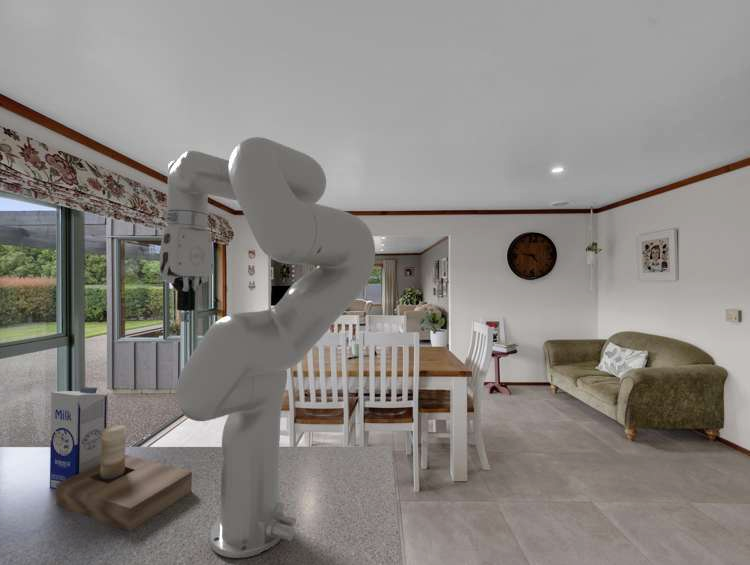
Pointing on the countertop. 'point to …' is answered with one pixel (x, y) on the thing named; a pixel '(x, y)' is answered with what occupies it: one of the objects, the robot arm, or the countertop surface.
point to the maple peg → (112, 453)
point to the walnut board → (125, 492)
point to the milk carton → (76, 432)
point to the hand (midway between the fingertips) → (185, 310)
